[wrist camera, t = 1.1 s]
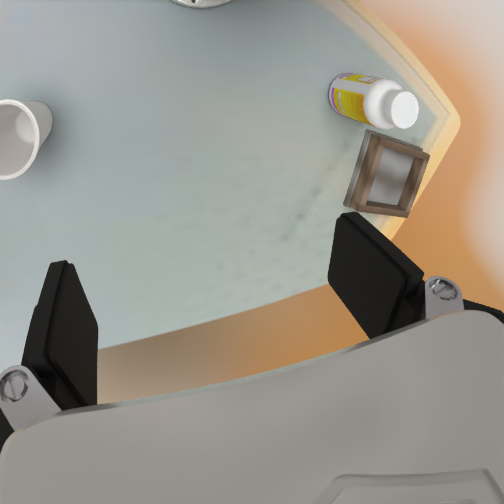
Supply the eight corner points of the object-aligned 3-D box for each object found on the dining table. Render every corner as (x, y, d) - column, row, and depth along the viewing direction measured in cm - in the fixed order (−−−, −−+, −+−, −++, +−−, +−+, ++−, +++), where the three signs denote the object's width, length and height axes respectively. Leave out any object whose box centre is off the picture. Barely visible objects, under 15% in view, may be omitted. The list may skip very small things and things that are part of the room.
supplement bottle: (348, 123, 44) (405, 147, 34) (318, 98, 41) (374, 114, 31) (371, 91, 42) (431, 107, 32) (343, 63, 39) (404, 72, 29)
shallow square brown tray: (366, 129, 46) (380, 134, 43) (419, 147, 51) (432, 153, 48) (343, 204, 52) (354, 213, 49) (396, 211, 57) (408, 219, 54)
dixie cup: (69, 96, 31) (46, 105, 23) (55, 158, 34) (32, 186, 26) (14, 86, 27) (-21, 95, 19) (2, 149, 31) (-32, 174, 23)
